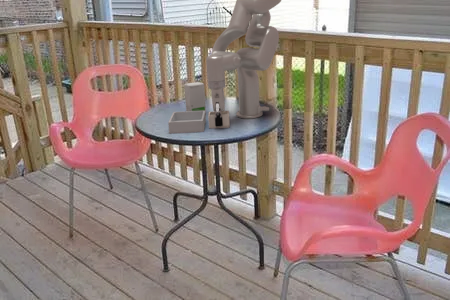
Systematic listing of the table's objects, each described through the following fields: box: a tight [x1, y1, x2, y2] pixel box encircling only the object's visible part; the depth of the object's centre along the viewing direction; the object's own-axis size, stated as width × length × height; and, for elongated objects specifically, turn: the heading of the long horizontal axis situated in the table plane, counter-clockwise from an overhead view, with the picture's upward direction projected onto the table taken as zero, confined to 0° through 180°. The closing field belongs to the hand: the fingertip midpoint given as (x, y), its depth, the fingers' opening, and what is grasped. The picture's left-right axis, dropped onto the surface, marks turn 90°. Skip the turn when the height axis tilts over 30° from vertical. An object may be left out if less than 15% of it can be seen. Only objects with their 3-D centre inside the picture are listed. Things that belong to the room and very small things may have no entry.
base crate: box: [167, 110, 207, 134], centre depth 193 cm, size 15×16×5 cm
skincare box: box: [183, 81, 207, 113], centre depth 208 cm, size 8×7×16 cm
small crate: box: [207, 110, 231, 129], centre depth 191 cm, size 9×6×6 cm, turn 89°
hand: (219, 123), depth 192 cm, fingers closed on small crate, 6 cm apart
